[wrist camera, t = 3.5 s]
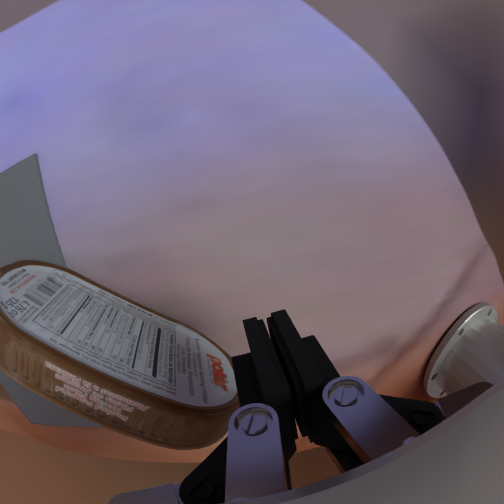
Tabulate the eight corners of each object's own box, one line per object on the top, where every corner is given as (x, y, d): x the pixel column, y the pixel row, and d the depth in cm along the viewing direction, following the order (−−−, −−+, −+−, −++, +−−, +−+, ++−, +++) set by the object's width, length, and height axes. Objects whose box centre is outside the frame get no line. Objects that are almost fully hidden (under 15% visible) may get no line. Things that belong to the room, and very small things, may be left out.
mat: (37, 153, 12) (34, 153, 12) (149, 422, 19) (148, 424, 19) (-66, 223, 11) (-68, 224, 11) (32, 421, 18) (31, 423, 18)
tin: (24, 278, 14) (-48, 343, 6) (33, 236, 13) (-52, 288, 6) (219, 368, 19) (238, 468, 11) (240, 335, 18) (272, 435, 10)
